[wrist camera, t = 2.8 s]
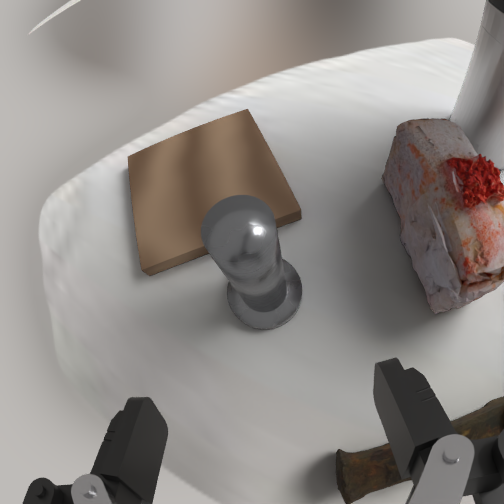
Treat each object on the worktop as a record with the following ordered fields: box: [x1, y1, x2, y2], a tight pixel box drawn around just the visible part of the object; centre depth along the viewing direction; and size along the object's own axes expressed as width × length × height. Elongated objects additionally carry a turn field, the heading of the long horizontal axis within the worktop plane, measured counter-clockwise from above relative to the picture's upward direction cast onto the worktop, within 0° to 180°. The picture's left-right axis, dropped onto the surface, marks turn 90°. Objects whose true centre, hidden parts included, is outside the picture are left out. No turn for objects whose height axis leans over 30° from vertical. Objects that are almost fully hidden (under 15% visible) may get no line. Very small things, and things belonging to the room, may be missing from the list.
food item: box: [382, 119, 504, 314], centre depth 19 cm, size 14×8×10 cm, turn 11°
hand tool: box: [336, 397, 504, 504], centre depth 14 cm, size 19×4×5 cm, turn 96°
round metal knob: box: [201, 195, 302, 329], centre depth 19 cm, size 6×6×11 cm
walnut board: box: [128, 109, 301, 276], centre depth 28 cm, size 14×14×2 cm
